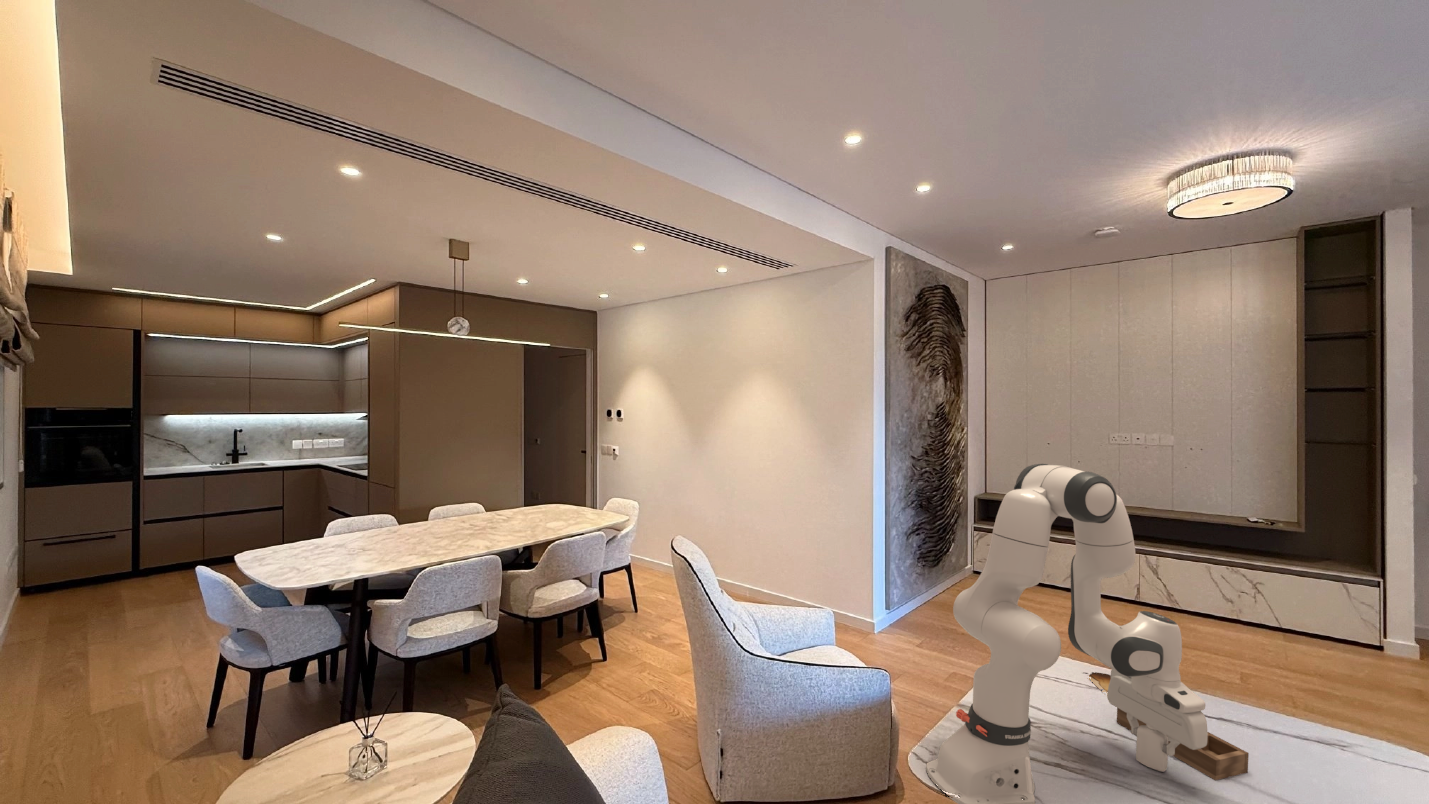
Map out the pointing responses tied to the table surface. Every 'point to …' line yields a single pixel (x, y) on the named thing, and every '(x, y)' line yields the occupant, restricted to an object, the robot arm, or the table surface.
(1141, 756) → the eye dropper bottle
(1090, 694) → the table surface
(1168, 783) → the table surface
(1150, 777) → the table surface
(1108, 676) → the parchment
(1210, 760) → the slot rack
